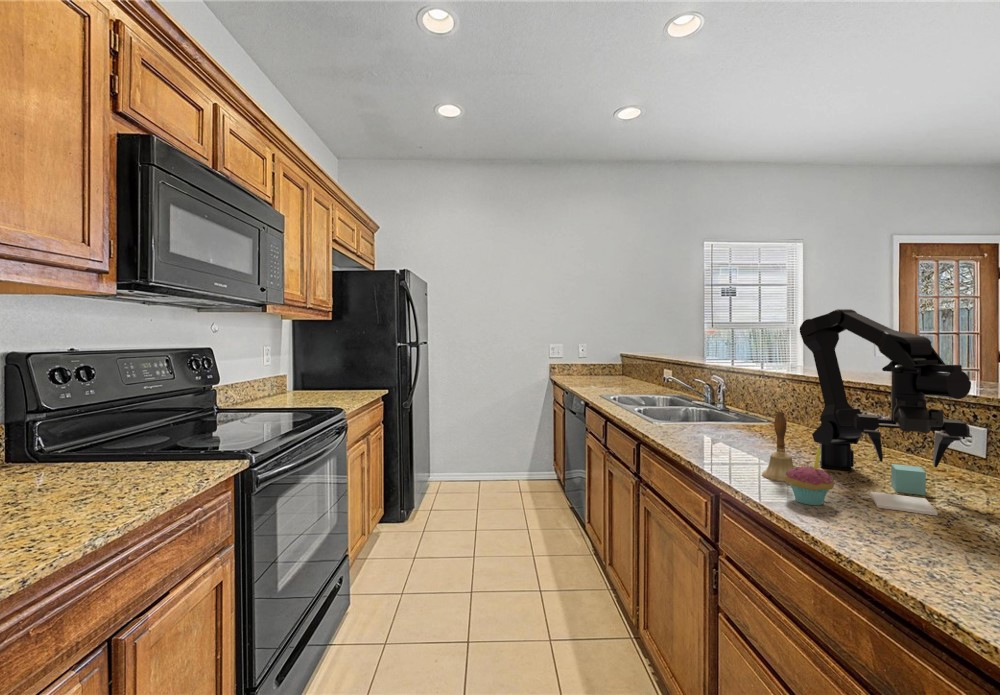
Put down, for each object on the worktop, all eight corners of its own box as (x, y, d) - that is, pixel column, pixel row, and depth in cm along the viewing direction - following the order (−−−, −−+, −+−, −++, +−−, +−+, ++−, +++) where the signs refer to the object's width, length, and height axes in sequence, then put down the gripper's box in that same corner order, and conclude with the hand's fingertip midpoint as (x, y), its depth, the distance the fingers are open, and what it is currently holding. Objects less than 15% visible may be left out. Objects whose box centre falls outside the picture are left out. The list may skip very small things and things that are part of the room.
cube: (895, 492, 104) (895, 469, 104) (891, 485, 108) (891, 464, 108) (925, 495, 101) (925, 472, 101) (920, 489, 106) (920, 466, 106)
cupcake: (826, 497, 101) (826, 440, 101) (840, 511, 93) (840, 449, 93) (780, 493, 104) (780, 438, 104) (790, 506, 96) (790, 446, 96)
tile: (877, 507, 95) (877, 504, 95) (870, 494, 102) (870, 491, 102) (937, 515, 90) (937, 512, 90) (925, 501, 98) (925, 498, 98)
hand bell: (764, 480, 113) (764, 413, 113) (759, 471, 121) (759, 408, 121) (804, 484, 110) (805, 415, 110) (797, 474, 118) (797, 410, 117)
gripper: (860, 395, 102) (859, 467, 103) (979, 400, 93) (978, 479, 93) (853, 389, 112) (853, 455, 112) (961, 394, 102) (960, 466, 103)
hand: (907, 463), depth 105 cm, fingers open, 9 cm apart
